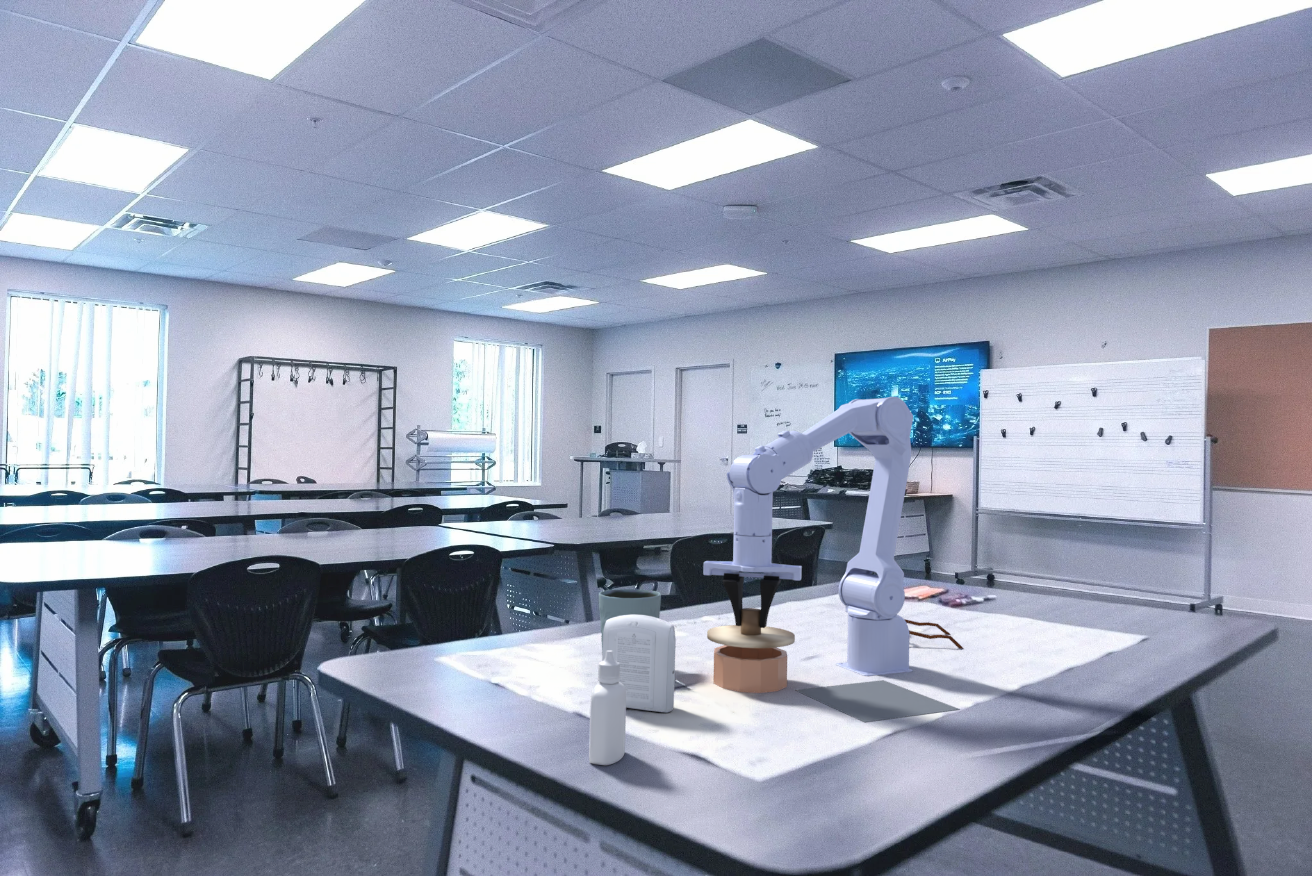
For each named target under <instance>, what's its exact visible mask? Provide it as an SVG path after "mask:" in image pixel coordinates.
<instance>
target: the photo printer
mask: <svg viewBox="0 0 1312 876" xmlns="http://www.w3.org/2000/svg"><path fill="white" fill-rule="evenodd" d="M675 629H676V628H675V625H674V624H672V623H671V622H669V621H667V620H664V619H661V618H660V617H659V618H655V617H651V616H646V615H623V616H617V617H614V618H610V619H608V620H607V621H606V623H605V626H604V632H603V657H602V658H601V661H603V660H604V659H605V656H606V651H607V650H612V651H613V656H614V660H615V661H617V662H619V663H620V681H619V682H620V683H622V684H623V685H624V686H625V688H626V709H627V708H628V709H635V710H643V711H650V712H651V711H652V712H659V713H663V714H664V713H665V714H666V713H670V712H672V711H673V710H674V707H675V706H674V704H675V677H676V675H675V674H676V673H675V672H676V647H677V646H676V645H677V644H676V643H677V639H676V630H675Z"/></svg>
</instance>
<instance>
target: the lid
mask: <svg viewBox="0 0 1312 876" xmlns="http://www.w3.org/2000/svg"><path fill="white" fill-rule="evenodd" d="M760 612H761V608H755V607H744V608H743V609H741V626H736V624H732V625H720V626H719V625H718V626H714V627H712V628H709V629H708V630H707V631H706V632H707V634H706V638H707V639H708V640H709V641H710V642H713V643H715V644H719V645H721V646H723V645H728V646H734V647H744V648H776V647H777V648H782V647H783V648H784V647H787V646H791V645H793V644H795V642H796V641H795V640H796V639H795V638H796V636H795V633H793V632H792V631H789V630H787V629H784V628H779V627H773V626H767V625H766V627H765V628H760Z"/></svg>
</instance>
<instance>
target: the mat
mask: <svg viewBox="0 0 1312 876" xmlns="http://www.w3.org/2000/svg"><path fill="white" fill-rule="evenodd" d="M794 691H795V692H797V693H800V694H802V695H804V696H806V697H808V698H810V699H812V700H814V701H817V702H819V703H822V704H823V705H825V706H828V707H829V708H832V709H834V710H837V711H839V712H840V713H843V714H846V715H847V716H850V717H851V718H854V719H855V720H858V721H860V722H862V723H872V722H880V721H885V720H893V719H899V718H900V719H902V718H909V717H917V716H923V715H924V716H925V715H930V714H937V713H946V712H953V711H960V710H961V709H960V708H958V707H955V706H953V705H950V704H947V703H945V702H942V701H940V700H937V699H934V698H932V697H929V696H927V695H924V694H921V693H918V692H915V691H914V690H911V689H907V688H905V687H902V686H900V685H897V684H895V683H892V682H889V681H886V680H884V679H882V680H880V679H879V680H873V681H863V682H855V683H846V684H845V683H844V684H838V685H837V684H836V685H835V684H834V685H828V686H827V685H826V686H819V687H810V688H800V689H795V690H794Z"/></svg>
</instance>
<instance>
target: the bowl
mask: <svg viewBox="0 0 1312 876" xmlns="http://www.w3.org/2000/svg"><path fill="white" fill-rule="evenodd" d="M712 684H713V685H715V686H716V687H719V688H721V689H723V690H729V691H733V692H738V693H753V694H756V693H757V694H763V693H764V694H765V693H771V692H779V691H781V690H784V689H785V688H787V687H788V652H787V650H785V649H781V648H780V647H776V648H744V647H734V646H728V645H720V646H718V647H714V650H713V683H712Z"/></svg>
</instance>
